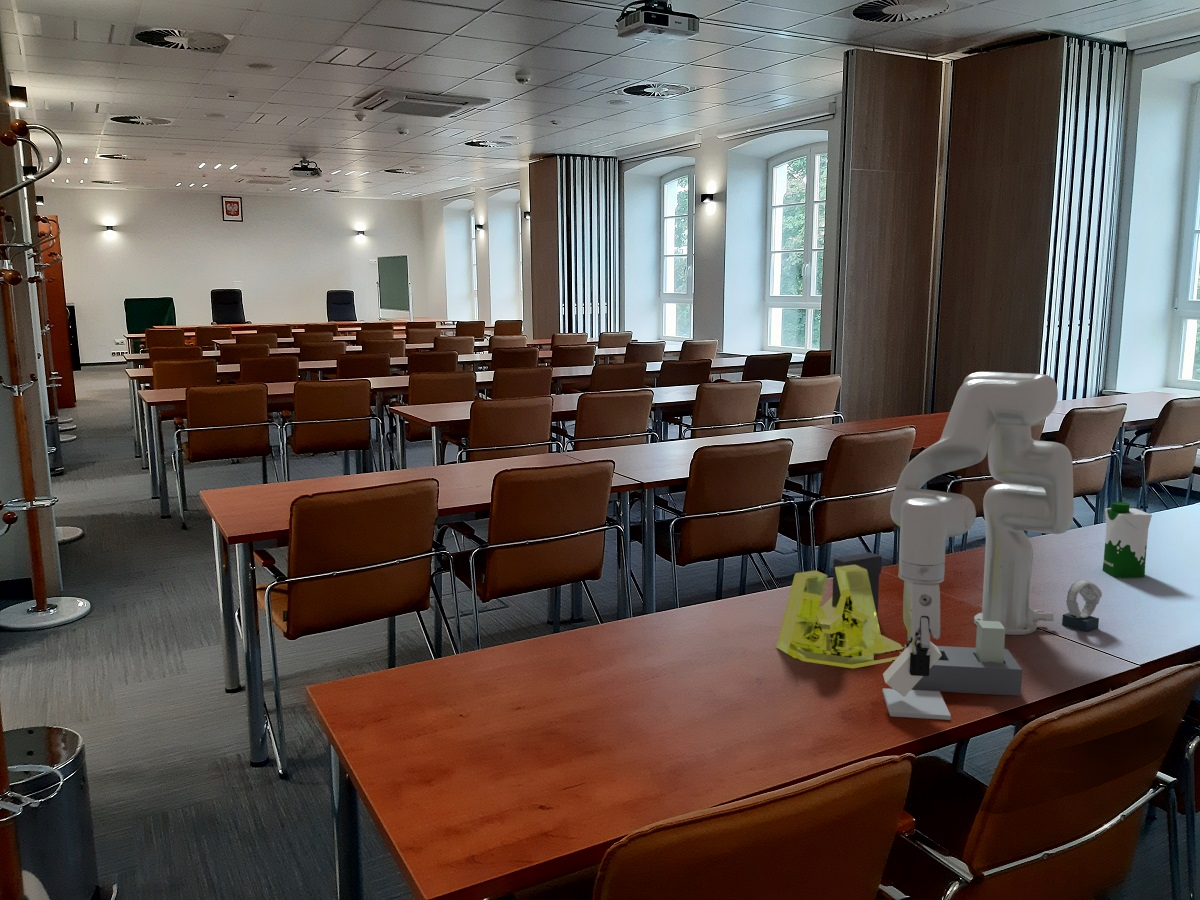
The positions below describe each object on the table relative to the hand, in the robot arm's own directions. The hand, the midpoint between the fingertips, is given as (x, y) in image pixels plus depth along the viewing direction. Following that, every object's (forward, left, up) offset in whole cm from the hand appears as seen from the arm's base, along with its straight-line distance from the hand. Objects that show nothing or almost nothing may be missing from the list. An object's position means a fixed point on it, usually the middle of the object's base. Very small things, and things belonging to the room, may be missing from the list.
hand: (917, 669), depth 161 cm
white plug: (+4, 0, -3) cm, 5 cm away
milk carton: (-65, -85, -7) cm, 107 cm away
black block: (+6, -44, -7) cm, 45 cm away
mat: (0, 0, -7) cm, 7 cm away
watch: (-42, -44, -7) cm, 61 cm away
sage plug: (-15, -12, -5) cm, 20 cm away
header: (-10, -12, -7) cm, 17 cm away
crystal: (+10, -26, -7) cm, 29 cm away
